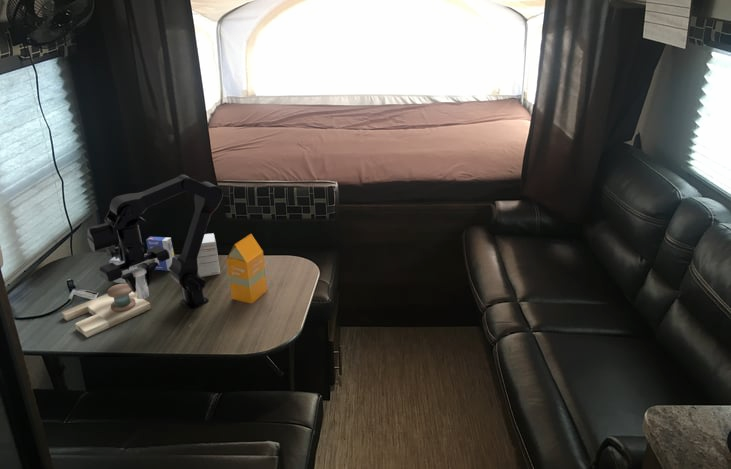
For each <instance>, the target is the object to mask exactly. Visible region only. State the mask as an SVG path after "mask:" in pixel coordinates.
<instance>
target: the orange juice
mask: <svg viewBox="0 0 731 469" xmlns="http://www.w3.org/2000/svg"><path fill="white" fill-rule="evenodd" d="M264 256H265V255H264V250H263V249H262V248H261V246H260V245H259V243H258V242H257V240H256V239H255V237H254V236H253V234H252V233H250V234H248V235H246V236H245V237H243V238H242V239H241V240H239V241H237V242H236V243H234V245H233V246H232V248H231V250H230V252H229V253H228V255H227V257H226V263H227V264H226V265H227V269H228V270H227V271H228V279H229V285H230V286H229V287H230V293H231V299H232V300H236V301H239V302H243V303H246V304H247V303H248V304H253V303H254V302H255V301H257V300H258V299H259V298H260V297H261V296H263V295H264V294H265V293H266V292H267V291H268V286H267V285H268V284H267V276H266V266H265V257H264Z"/></svg>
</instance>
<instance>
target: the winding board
mask: <svg viewBox="0 0 731 469" xmlns="http://www.w3.org/2000/svg"><path fill="white" fill-rule="evenodd" d="M129 297H130V298H133V299H135V302H136V304H135V306H134V307H133V308H131V309H129V310H127V311H123V312H115V311H113V310H112V309H111V304H112V303H113V302H114V298H113V297H110V296H108V293H105V294H103V295H100V296H99V297H96V298H94V299H90V300H88V301H86V302H84V303H81V304H78V305H75V306H74V307H71V308H69V309H66V310H64V311H62V312H61V314H62V318H63V319H64V320H65V321H67V322H68V321H71V320H72V319H73V320H74V319H75V318H78V317H81V316H82V315H85V314H88V313H89V314H91V315H92V316H89V317H86V318H84V319H82V320H80V321H78V322H75V329H76V330H77V331H78V332H79V333H81V334H82V335H84V336H85V337H86V338H89V337H92V336H94V335H96V334H98V333H100V332H102V331H105V330H107V329H109V328H111V327H113V326H116V325H118V324H120V323H122V322H125V321H127V320H129V319H132V318H133V317H135V316H138V315H140V314H142V313H145V312H147V311H149V310H151V309H152V308H151V307H152V305H151V303H150V302H149V301H148V300H145V299H138V298H137V296H136V293H135V292H133V291H132V292H131V293H129Z"/></svg>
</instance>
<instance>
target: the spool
mask: <svg viewBox="0 0 731 469" xmlns="http://www.w3.org/2000/svg"><path fill="white" fill-rule="evenodd" d="M131 292H133V291H132V290H131V288H130V287H129V285H128V284H127V283H116V284H115V285H112V286H110V287H109V288H108V289H107V291H106V294H108V296H110V297H113V298H114V302H113V303H112V304H111V309H112V310H113V311H115V312H123V311H127V310H129V309H131V308H133V307H134V306H135V304H136V302H135V299H133V298H130V297H129V293H131Z"/></svg>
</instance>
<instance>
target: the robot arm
mask: <svg viewBox="0 0 731 469" xmlns="http://www.w3.org/2000/svg"><path fill="white" fill-rule="evenodd" d="M184 192H189V193H191V194H193V195H194V198H193V200H194V213H193V216H192V218H191V222H190V224H189V229H188V232H187V235H186V238H185V242H184V244H183V248H182V251H181V253H180V255H178V256H177V257H175V256H174V257H173V258H172V264H171V266H170V267H169V269H170V271H169V275H170V276H171V278H172V279H174V281H175V282H176V283H178V284H179V285H180V286H181V287H182V293H183V299H181V300H180V302H179V303H181V304H182V305H184V306H185V307H187V308H188V309H191V310H193V309H195V308H197V307H198V306H201V305H203V304H205V303H207V302H209V301H210V300H209V299H208V298H207V297H206V296H204V291H203V289H204V288H205V286H206V280H205V279H204V278H203V277H200V276H199V274H198V263H197V257H198V254H199V251H200V248H201V244H202V241H203V238H204V235H205V234H206V231H207V229H208V225H209V222H210V220H211V216H212V214H214V212H215V211H216V210H217V209H218V208H219V205H220V204H221V201H222V200H223V197H224V193H223V190H222V189H221V188H220V187H219V186H217V185H214V184H213V183H211V182H209V181H199V180H196V179H194V178H191V177H190V176H188V175H186V174H180V175H178V176H177V177H175V178H172V179H170V180H169V179H168V180H167V181H165V182H163V183H160V184H158V185H155V186H153V187H150V188H148V189H146V190H143V191H141V192H135V193H133V192H132V193H131V192H130V193H126V194H125V193H124V194H121V195H117V196H114V197H113V198H112V199H111V200H110V203H109V210H108V212H107V214H106V216H105V217H104V221H103V222H104V223H101V224H97V225H91V226H87V232H86V233H87V234H86V238H87V243H88V245H89V247H90V250H91V251H92V252H93V253H95V252H98V251H102V250H106V251H105V252H106V254H107V256H108V258H109V259H112V258H113V257H115V258H116V259H117V258H119V260H120V261H124V263H123V264H120V265H115V264H114V263H108V264H105V265H101V266H100V267H99V269H98V274H99V277H101V278H102V279H104V280H106V281H107V282H110V283H111V282H114V280H117V279H119V278H122V279H124V280H125V281H126V282H127V283H126V284H128V285H129V287H130V288H131V290H132V292H133V293H135V292H136V288H135V283H134V277H133V274H132V273H130V272H129V268H132V267H134V266H137V267H138V266H139V265H140V266H141V267H143V268H144V269H145V270H146V273H147V284H148V287H149V286H150V283H151V280H152V277H153V274H154V272H155V271H156V270H155V268H156V266H158V263H157V262H156V261H155V258H157V260H159V261H161V262H162V261H165V260H167V259H169V258H170V255H169V252H168V250H166V249H164V248H162V247H160V246H156V247H153V248H150V249H148V248H147V250H146V253H145V252H144V251H145V250H144V248H146V245H145V243H144V242H143V241H142V236H141V230H140V225H142V224H145V223H146V222H147V221H146V219H144V218H143V217H141V216H142V214H144V212H145V211H146V210H148V208H150V207H152V206H154V205H157V204H159V203H162V202H164V201H166V200H168V199H171V198H173V197H175V196H178V195H180V194H182V193H184ZM116 218H117V219H116ZM118 241H119V242H118ZM116 245H117V246H116ZM115 246H116V247H115Z"/></svg>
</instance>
